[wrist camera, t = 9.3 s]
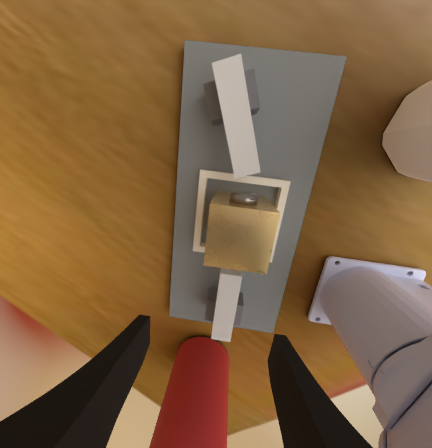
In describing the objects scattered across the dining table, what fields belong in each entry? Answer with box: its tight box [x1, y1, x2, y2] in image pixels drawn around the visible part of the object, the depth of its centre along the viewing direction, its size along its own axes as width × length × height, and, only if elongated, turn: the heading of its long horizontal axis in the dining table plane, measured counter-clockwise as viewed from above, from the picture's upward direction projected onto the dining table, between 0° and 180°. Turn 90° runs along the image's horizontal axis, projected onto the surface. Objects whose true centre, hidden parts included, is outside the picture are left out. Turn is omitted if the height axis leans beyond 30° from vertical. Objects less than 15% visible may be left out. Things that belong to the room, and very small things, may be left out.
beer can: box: [149, 336, 229, 448], centre depth 20 cm, size 7×7×12 cm
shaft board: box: [169, 40, 347, 342], centre depth 17 cm, size 12×26×5 cm, turn 173°
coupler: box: [203, 190, 280, 274], centre depth 16 cm, size 4×6×6 cm
